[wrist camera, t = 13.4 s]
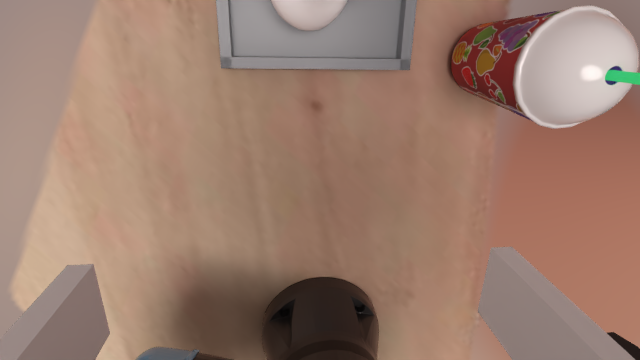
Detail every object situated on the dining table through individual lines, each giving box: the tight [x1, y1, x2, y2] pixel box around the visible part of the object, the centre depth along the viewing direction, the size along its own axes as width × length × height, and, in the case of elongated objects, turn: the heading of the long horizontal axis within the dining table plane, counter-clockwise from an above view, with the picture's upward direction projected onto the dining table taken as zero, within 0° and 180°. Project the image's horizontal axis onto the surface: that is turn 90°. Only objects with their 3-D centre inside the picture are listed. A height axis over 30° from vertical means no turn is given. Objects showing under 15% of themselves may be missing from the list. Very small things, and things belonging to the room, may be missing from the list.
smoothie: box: [451, 5, 640, 129], centre depth 30 cm, size 8×8×20 cm
